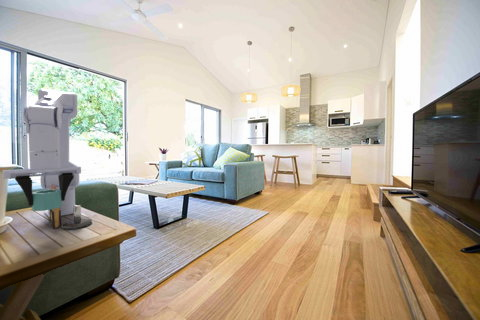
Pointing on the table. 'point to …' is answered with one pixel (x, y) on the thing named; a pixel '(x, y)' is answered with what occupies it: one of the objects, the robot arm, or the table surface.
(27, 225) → the table surface
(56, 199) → the collar
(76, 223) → the dark round peg base
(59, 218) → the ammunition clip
